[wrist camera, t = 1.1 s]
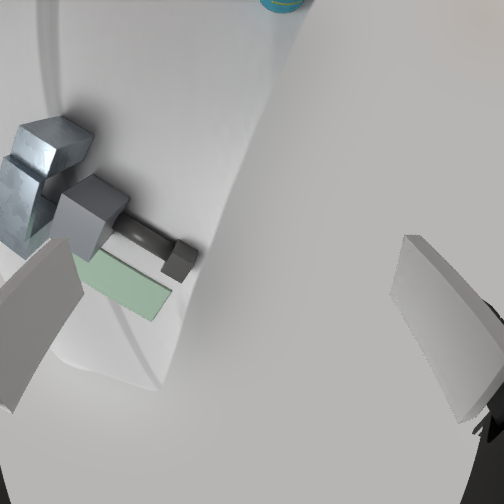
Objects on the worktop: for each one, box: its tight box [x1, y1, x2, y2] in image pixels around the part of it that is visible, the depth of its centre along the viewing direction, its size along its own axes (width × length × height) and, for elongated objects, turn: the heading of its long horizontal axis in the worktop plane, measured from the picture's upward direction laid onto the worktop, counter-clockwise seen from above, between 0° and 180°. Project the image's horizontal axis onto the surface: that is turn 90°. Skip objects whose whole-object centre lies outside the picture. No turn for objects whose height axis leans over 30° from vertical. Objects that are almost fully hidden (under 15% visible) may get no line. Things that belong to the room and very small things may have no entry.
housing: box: [0, 116, 94, 260], centre depth 28 cm, size 6×15×10 cm, turn 145°
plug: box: [49, 174, 198, 283], centre depth 33 cm, size 17×6×8 cm, turn 54°
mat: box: [72, 248, 171, 321], centre depth 40 cm, size 16×7×1 cm, turn 54°
